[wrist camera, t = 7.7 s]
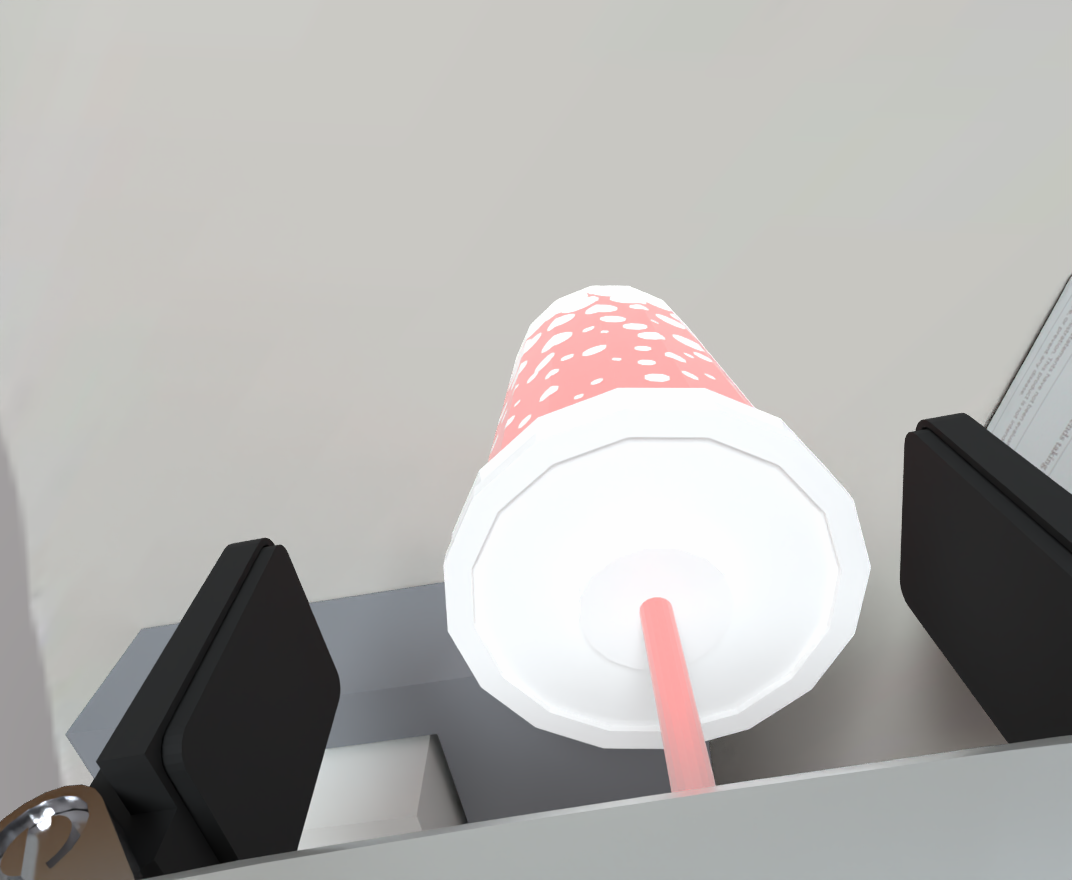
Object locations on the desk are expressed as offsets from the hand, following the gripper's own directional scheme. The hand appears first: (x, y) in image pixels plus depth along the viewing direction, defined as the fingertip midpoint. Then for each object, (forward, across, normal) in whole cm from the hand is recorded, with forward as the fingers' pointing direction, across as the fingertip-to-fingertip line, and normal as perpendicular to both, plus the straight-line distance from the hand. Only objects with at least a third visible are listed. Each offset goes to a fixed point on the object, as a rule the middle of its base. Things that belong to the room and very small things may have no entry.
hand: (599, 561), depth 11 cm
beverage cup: (+8, -1, 0) cm, 9 cm away
